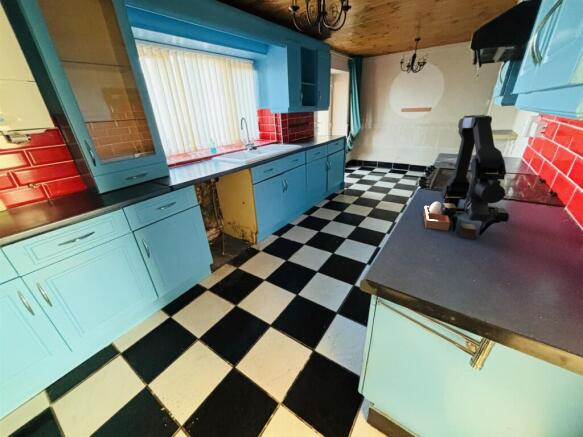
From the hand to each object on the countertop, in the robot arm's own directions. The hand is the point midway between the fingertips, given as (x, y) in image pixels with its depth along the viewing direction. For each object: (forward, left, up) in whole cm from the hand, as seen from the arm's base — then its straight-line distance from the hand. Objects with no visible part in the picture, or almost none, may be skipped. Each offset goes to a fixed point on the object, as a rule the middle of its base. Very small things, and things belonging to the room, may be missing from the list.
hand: (466, 233), depth 86 cm
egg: (-14, -9, -1) cm, 16 cm away
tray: (-10, -9, -1) cm, 13 cm away
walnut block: (0, 0, -1) cm, 1 cm away
